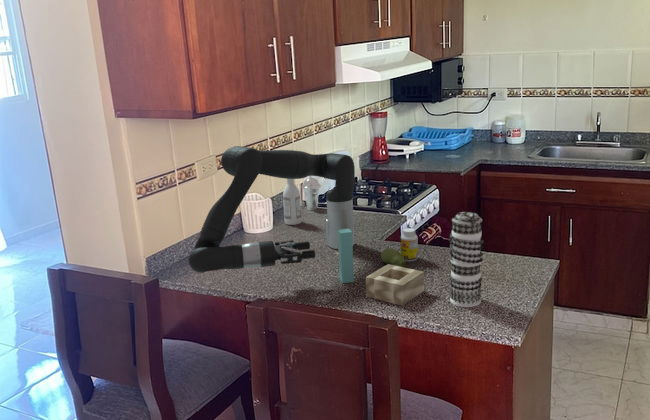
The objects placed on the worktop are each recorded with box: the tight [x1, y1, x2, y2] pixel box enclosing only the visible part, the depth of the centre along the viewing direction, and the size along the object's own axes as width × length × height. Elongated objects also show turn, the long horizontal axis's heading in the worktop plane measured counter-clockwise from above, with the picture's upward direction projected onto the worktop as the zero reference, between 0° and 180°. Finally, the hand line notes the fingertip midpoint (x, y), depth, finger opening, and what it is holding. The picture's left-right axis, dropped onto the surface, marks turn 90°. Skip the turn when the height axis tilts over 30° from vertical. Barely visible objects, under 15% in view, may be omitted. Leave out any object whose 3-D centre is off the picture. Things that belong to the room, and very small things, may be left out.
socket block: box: [365, 264, 425, 306], centre depth 177 cm, size 12×12×6 cm
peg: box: [337, 229, 355, 284], centre depth 187 cm, size 4×4×16 cm
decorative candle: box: [448, 211, 485, 308], centre depth 168 cm, size 9×9×25 cm
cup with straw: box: [301, 176, 321, 211], centre depth 269 cm, size 8×9×20 cm
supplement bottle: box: [400, 227, 419, 263], centre depth 203 cm, size 6×6×10 cm
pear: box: [380, 247, 407, 268], centre depth 199 cm, size 6×5×10 cm
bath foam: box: [282, 179, 302, 226], centre depth 249 cm, size 7×7×20 cm
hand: (312, 249), depth 184 cm, fingers open, 8 cm apart
